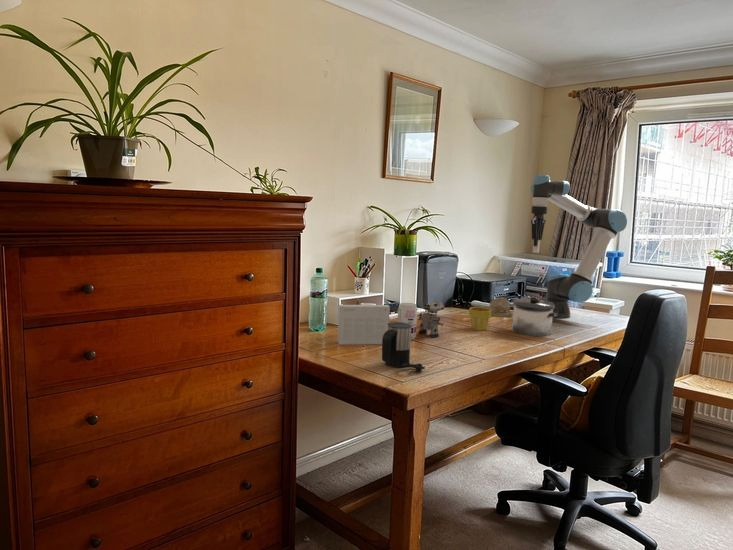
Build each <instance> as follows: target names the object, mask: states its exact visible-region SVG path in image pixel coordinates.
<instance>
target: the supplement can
mask: <svg viewBox="0 0 733 550" xmlns="http://www.w3.org/2000/svg"><path fill="white" fill-rule="evenodd" d="M397 309H398V312H397V322H402V323H408V324H411V325H412V327H411V340H410V341H412V340H414V339H416V336H417V321H418V307H417V304H416V303H412V302H411V303H410V302H401V303H400V304H399V306H398V308H397Z"/></svg>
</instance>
